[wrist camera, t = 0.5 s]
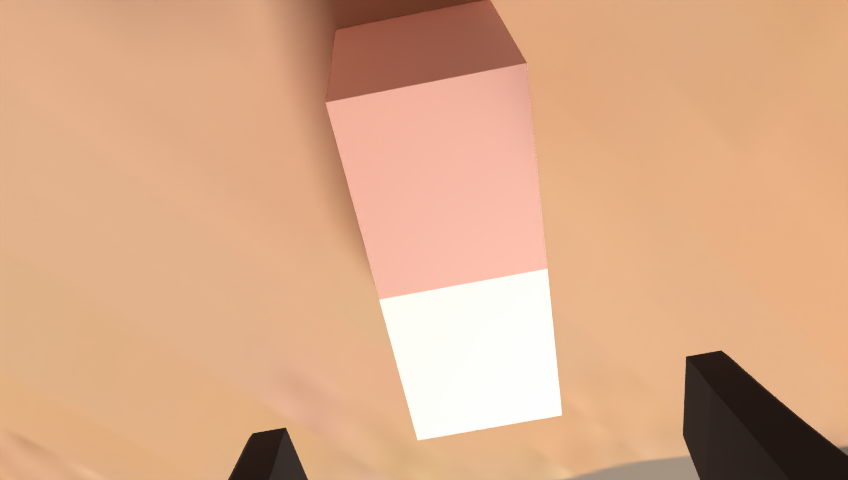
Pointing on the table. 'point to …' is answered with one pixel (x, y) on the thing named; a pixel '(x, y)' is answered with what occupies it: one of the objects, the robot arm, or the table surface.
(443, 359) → the two-tone block
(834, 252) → the table surface
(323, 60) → the table surface
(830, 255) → the table surface
